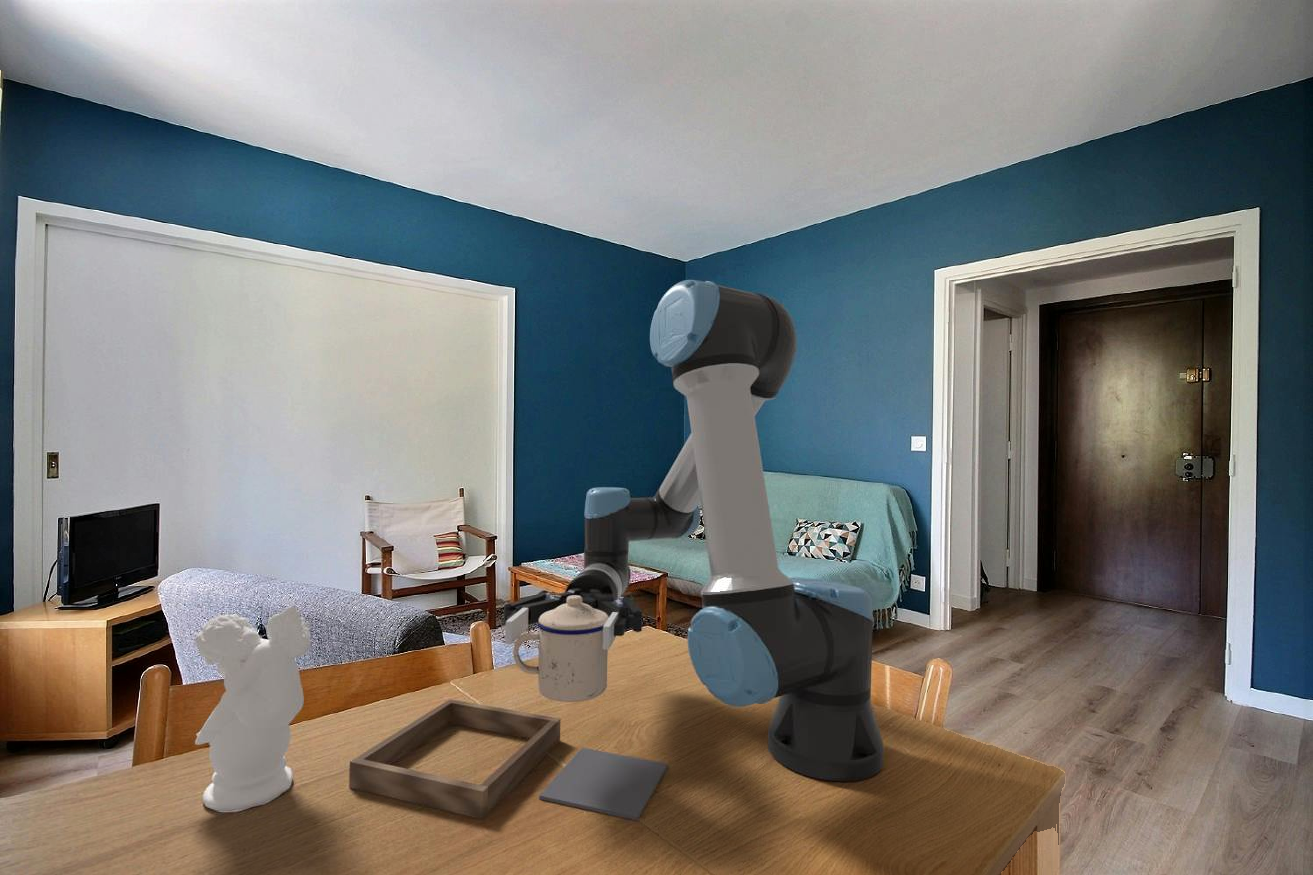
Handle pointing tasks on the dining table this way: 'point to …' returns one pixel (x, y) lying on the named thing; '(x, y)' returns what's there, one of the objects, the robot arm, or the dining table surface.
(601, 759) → the charcoal mat
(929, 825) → the dining table surface
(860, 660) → the robot arm
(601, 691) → the teacup with lid
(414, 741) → the walnut box
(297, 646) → the cherub figurine
